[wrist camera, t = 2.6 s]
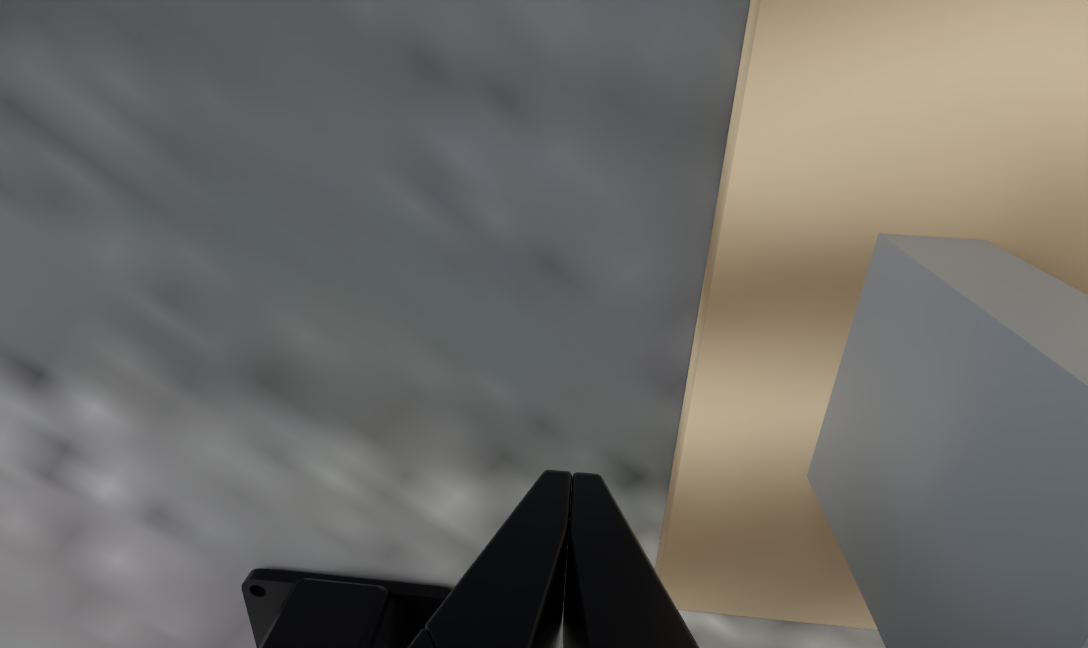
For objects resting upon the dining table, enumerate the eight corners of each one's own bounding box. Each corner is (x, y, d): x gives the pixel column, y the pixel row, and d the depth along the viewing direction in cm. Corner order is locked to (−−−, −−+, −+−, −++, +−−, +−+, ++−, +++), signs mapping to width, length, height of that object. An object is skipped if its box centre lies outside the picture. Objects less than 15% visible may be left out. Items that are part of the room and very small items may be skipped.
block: (899, 483, 14) (1135, 842, 8) (807, 475, 14) (966, 821, 8) (993, 240, 12) (1460, 489, 5) (878, 233, 12) (1200, 467, 5)
